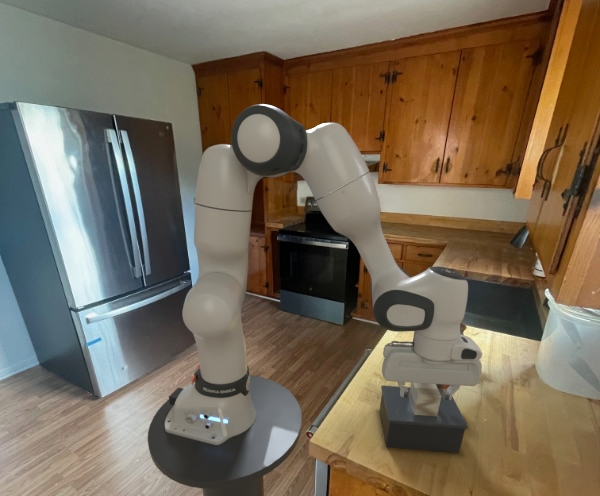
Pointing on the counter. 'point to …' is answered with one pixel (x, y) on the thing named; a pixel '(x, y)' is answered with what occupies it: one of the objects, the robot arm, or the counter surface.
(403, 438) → the storage box
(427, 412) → the beige cube block
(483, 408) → the counter surface
